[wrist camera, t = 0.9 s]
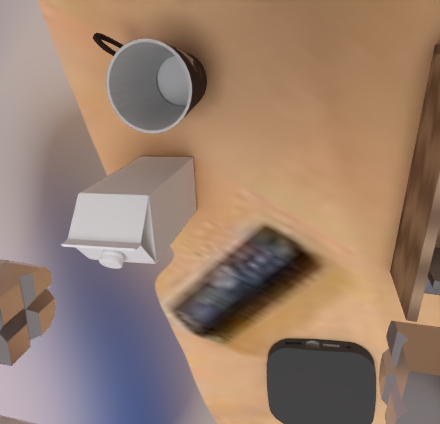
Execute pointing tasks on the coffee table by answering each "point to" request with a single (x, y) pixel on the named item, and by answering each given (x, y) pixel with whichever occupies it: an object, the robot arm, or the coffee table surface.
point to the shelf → (420, 204)
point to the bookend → (434, 274)
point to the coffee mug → (152, 83)
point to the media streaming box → (321, 382)
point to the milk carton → (134, 211)
